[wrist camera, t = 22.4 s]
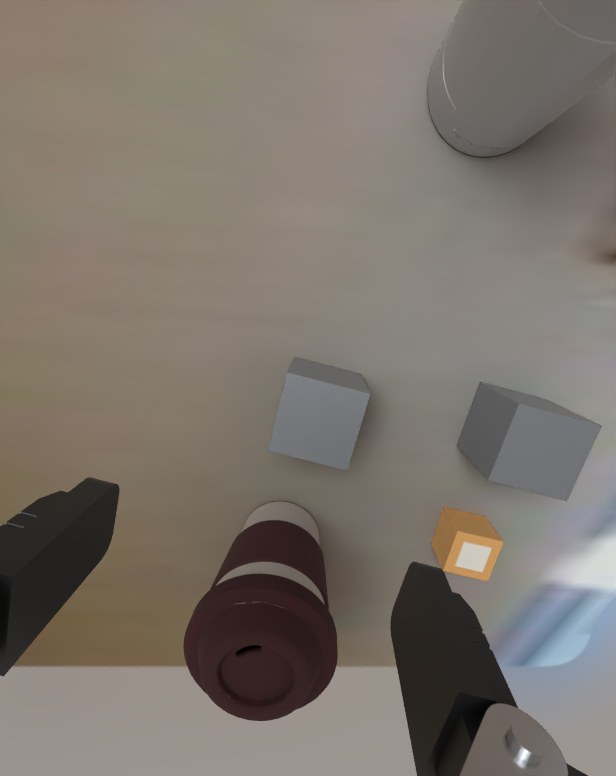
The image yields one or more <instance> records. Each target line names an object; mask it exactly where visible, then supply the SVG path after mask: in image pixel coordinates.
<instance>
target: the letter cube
mask: <svg viewBox="0 0 616 776" xmlns="http://www.w3.org/2000/svg"><path fill="white" fill-rule="evenodd" d="M503 543H504V541H503V540H502V539H501V537H500V536H499V534H498V533H497V532H496V530H495V529H494V527H493V526H492V525H491V523H490V522H489V521H488V519H487V518H486V516H482V515H478V514H473V513H469V512H465V511H461V510H456V509H452V508H448V507H444V508H443V511H442V514H441V517H440V520H439V522H438V525H437V528H436V531H435V534H434V537H433V539H432V542H431V544H432V546H433V549H434V551H435V553H436V556H437V558H438V561H439V563H440V565H441V568H442V570H443V571H445V572H449V573H454V574H458V575H462V576H467V577H471V578H475V579H479V580H484V581H488V580H489V577H490V575H491V572H492V570H493V567H494V565H495V562H496V560H497V558H498V555H499V553H500V550H501V548H502V545H503Z"/></svg>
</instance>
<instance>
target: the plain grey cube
mask: <svg viewBox="0 0 616 776" xmlns="http://www.w3.org/2000/svg"><path fill="white" fill-rule="evenodd" d="M369 398H370V392H369V390H368V387H367V385H366V383H365V381H364V379H363V377H362V375H361V374H358V373H354V372H350V371H347V370H343V369H339V368H335V367H331V366H327V365H324V364H320V363H316V362H312V361H308V360H304V359H301V358H297V357H294V359H293V361H292V363H291V365H290V367H289V369H288V372H287V375H286V379H285V383H284V387H283V391H282V395H281V399H280V403H279V407H278V411H277V415H276V419H275V423H274V427H273V431H272V435H271V439H270V443H269V447H268V451H271V452H275V453H279V454H283V455H287V456H291V457H295V458H299V459H303V460H307V461H311V462H314V463H318V464H322V465H326V466H330V467H334V468H338V469H342V470H346V471H347V470H348V467H349V463H350V460H351V457H352V453H353V450H354V447H355V444H356V440H357V437H358V434H359V430H360V427H361V424H362V421H363V417H364V414H365V411H366V407H367V404H368V401H369Z"/></svg>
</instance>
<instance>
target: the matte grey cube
mask: <svg viewBox="0 0 616 776" xmlns="http://www.w3.org/2000/svg"><path fill="white" fill-rule="evenodd" d="M600 428H601V425H599V424H597V423H595V422H593V421H591V420H588V419H586V418H584V417H582V416H580V415H578V414H576V413H574V412H572V411H569V410H567V409H565V408H563V407H561V406H559V405H557V404H555V403H553V402H551V401H548V400H546V399H542V398H538V397H535V396H531V395H527V394H523V393H520V392H516V391H512V390H508V389H505V388H501V387H497V386H493V385H490V384H486V383H482V382H480V384H479V387H478V390H477V392H476V395H475V398H474V400H473V403H472V406H471V408H470V411H469V414H468V416H467V419H466V422H465V424H464V427H463V430H462V432H461V435H460V438H459V440H458V443H457V446H458V447H459V448H460V449H461V451H462V452H463V453H464V454H465V455H466V456H467V457H468V459H469V460H470V461H471V462H472V463H473V464H474V465H475V467H476V468H477V469H478V470H479V471H480V472H481V473H482V475H483V476H484V477H485V478H486V479H487V480H488V481H491V482H495V483H499V484H502V485H506V486H510V487H514V488H518V489H522V490H525V491H529V492H533V493H537V494H541V495H544V496H548V497H552V498H556V499H560V500H564V501H567V500H568V498H569V495H570V493H571V491H572V489H573V487H574V485H575V482H576V480H577V478H578V476H579V474H580V472H581V469H582V467H583V465H584V463H585V461H586V459H587V456H588V454H589V452H590V450H591V448H592V446H593V443H594V441H595V439H596V437H597V435H598V433H599V430H600Z"/></svg>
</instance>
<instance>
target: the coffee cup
mask: <svg viewBox="0 0 616 776" xmlns="http://www.w3.org/2000/svg"><path fill="white" fill-rule="evenodd" d="M184 655H185V660H186V664H187V666H188V669H189V671H190V673H191V675H192V677H193V678H194V680H195V681H196V683H197V684H198V685H199V686H200V687H201V688H202V690H203V691H204V692H205V693H207V694H208V696H209V697H210V698H211V700H212V701H213V702H214V703H215V704H216V705H218V706H219V707H220V708H222V709H223V710H224V711H226V712H227V713H229V714H232V715H234V716H236V717H239V718H243V719H247V720H254V721H267V720H273V719H278V718H281V717H283V716H286V715H288V714H290V713H291V712H293V711H294V710H296V709H299V708H301V707H303V706H305V705H307V704H308V703H310V702H311V701H313V700H314V699H316V698H317V697H318V696H319V695H320V694H321V693H322V692H323V691H324V689H325V688H326V687H327V686H328V684H329V683H330V681H331V679H332V677H333V675H334V672H335V668H336V665H337V634H336V628H335V625H334V621H333V618H332V616H331V614H330V612H329V606H328V597H327V587H326V577H325V568H324V559H323V554H322V551H321V548H320V541H319V532H318V528H317V525H316V523H315V521H314V520H313V518H312V517H311V515H310V514H309V513H308V512H307V511H305V510H304V509H303V508H301V507H299V506H298V505H295V504H292V503H289V502H281V501H279V502H271V503H267V504H264V505H262V506H260V507H259V508H257V509H256V510H255V511H254V512H253V513H251V515H250V516H249V517H248V519H247V520H246V522H245V524H244V526H243V529H242V531H241V533H240V534H239V535H238V536H237V538H236V539H235V541H234V542H233V544H232V546H231V548H230V550H229V552H228V554H227V556H226V558H225V560H224V562H223V564H222V566H221V568H220V571H219V573H218V575H217V577H216V579H215V581H214V583H213V585H212V587H211V589H210V591H208V592H207V593H206V594H205V595H204V597H203V598H202V599H201V600H200V602H199V603H198V605H197V606H196V608H195V610H194V612H193V615H192V617H191V619H190V622H189V624H188V627H187V630H186V633H185V638H184Z"/></svg>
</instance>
